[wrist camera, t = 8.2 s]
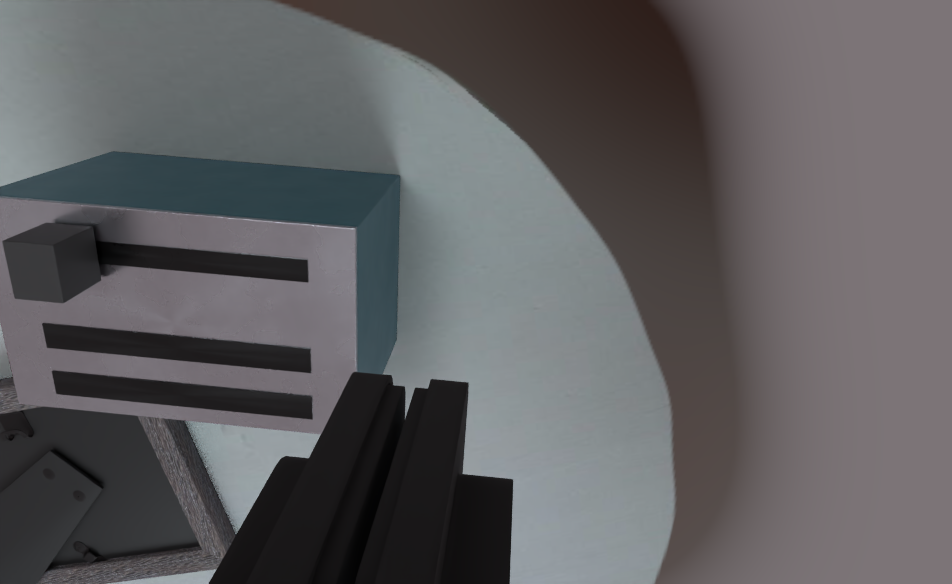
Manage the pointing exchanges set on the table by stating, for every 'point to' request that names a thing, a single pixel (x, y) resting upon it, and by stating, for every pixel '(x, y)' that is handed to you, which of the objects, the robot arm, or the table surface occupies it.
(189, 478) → the picture frame
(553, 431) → the table surface
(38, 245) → the block
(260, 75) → the table surface
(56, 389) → the toaster
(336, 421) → the robot arm
